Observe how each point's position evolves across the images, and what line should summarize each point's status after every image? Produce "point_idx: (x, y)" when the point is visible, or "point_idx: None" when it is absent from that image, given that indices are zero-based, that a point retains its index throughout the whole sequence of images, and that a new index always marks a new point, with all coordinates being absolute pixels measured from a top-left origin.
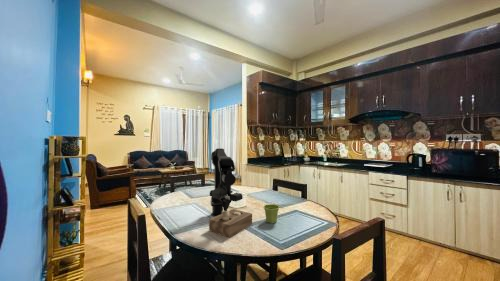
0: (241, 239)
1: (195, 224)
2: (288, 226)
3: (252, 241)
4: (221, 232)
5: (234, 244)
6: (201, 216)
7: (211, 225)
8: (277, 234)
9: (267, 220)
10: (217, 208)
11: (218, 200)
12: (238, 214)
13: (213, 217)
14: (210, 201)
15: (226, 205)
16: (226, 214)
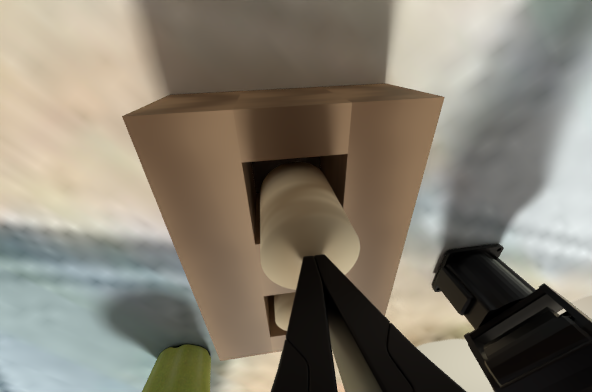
0: (85, 134)
1: (536, 93)
2: (84, 367)
3: (6, 161)
4: (255, 93)
5: (27, 26)
6: (543, 200)
7: (381, 91)
8: (25, 302)
9: (184, 353)
10: (488, 291)
11: (536, 353)
12: (278, 311)
13: (425, 159)
14: (587, 316)
15: (284, 351)
16: (266, 226)
